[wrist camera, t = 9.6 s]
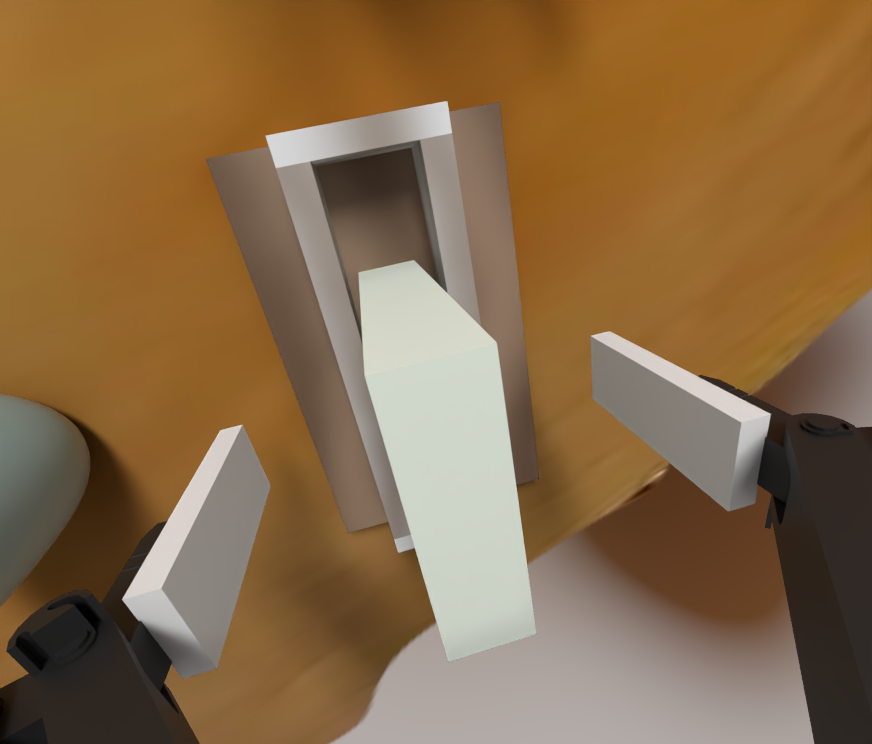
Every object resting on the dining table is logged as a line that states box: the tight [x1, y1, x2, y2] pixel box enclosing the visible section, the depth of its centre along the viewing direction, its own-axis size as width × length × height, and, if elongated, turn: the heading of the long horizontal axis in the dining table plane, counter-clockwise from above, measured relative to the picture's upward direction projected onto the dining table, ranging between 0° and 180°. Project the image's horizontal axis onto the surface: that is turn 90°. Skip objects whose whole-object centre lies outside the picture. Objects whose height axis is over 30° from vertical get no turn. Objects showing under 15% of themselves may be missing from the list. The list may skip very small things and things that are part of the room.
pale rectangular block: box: [358, 260, 536, 662], centre depth 15 cm, size 3×9×12 cm, turn 11°
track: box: [206, 101, 539, 553], centre depth 20 cm, size 12×20×4 cm, turn 11°
